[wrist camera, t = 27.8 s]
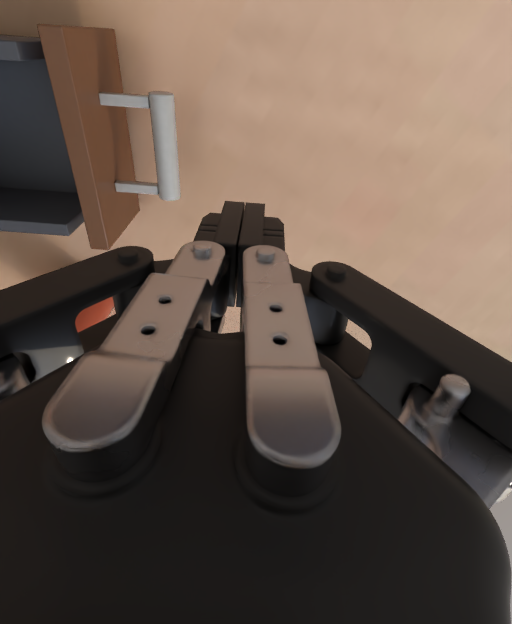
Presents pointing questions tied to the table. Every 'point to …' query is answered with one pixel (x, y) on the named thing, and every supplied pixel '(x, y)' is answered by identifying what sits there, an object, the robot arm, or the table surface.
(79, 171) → the drawer
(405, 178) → the table surface
